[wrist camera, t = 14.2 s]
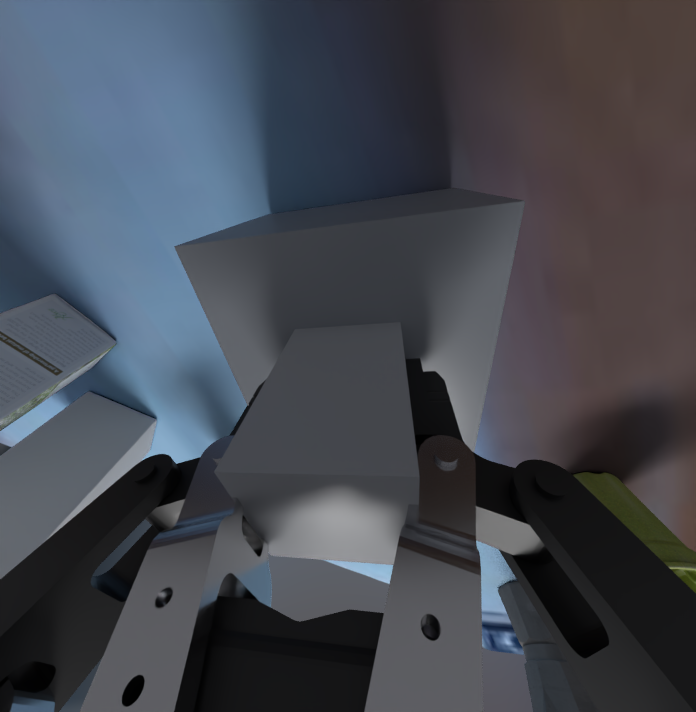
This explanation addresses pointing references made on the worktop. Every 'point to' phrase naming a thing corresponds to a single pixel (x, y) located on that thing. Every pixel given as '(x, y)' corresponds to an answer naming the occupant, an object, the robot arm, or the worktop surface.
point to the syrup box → (44, 353)
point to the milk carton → (65, 470)
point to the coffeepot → (543, 658)
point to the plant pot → (642, 524)
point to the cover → (350, 354)
